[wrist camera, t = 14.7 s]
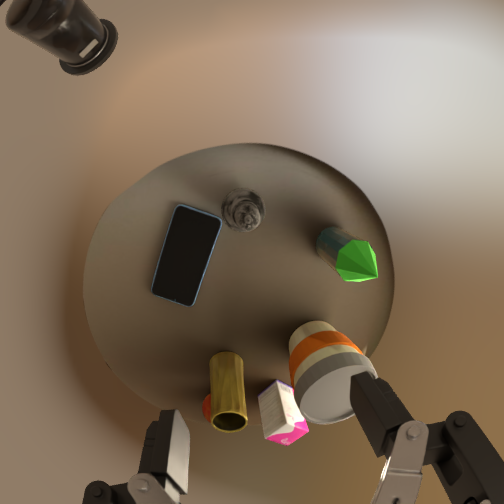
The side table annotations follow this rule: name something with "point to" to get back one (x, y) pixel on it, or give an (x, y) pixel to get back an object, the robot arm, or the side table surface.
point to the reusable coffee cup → (324, 372)
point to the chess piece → (243, 210)
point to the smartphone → (185, 255)
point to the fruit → (207, 407)
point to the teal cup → (332, 244)
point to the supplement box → (281, 414)
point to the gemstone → (356, 262)
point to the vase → (227, 392)
